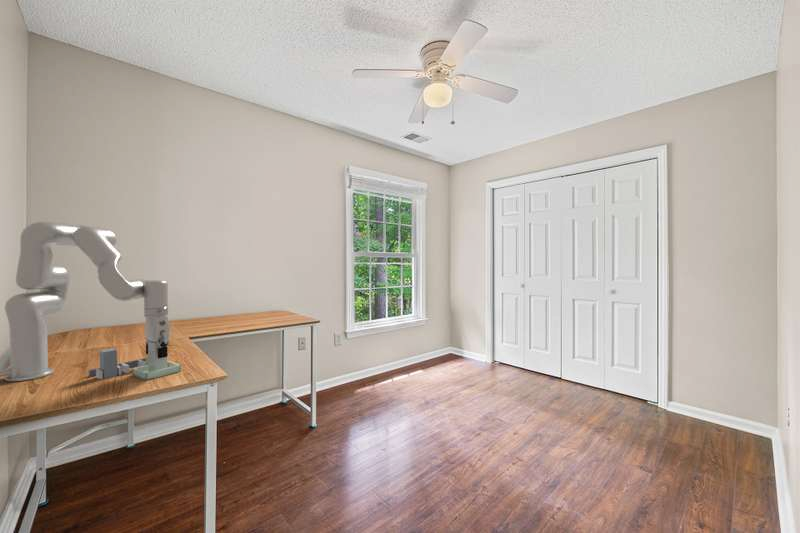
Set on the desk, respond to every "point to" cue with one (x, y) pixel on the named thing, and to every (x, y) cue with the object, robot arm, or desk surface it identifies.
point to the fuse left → (108, 362)
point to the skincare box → (155, 358)
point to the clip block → (120, 367)
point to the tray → (146, 375)
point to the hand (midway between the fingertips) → (156, 355)
